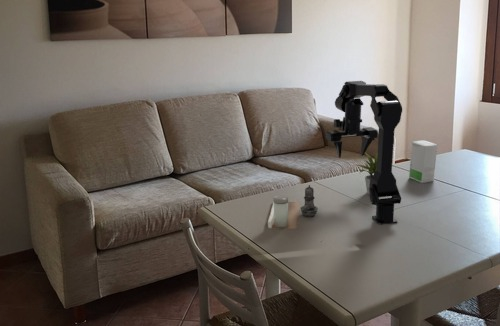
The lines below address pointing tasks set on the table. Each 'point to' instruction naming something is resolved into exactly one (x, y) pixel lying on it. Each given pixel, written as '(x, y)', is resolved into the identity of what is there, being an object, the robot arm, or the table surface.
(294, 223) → the shelf board
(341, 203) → the table surface
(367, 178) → the house plant
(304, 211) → the grey chess piece
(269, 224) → the rail
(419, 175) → the skincare box
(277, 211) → the sage ceramic jar
